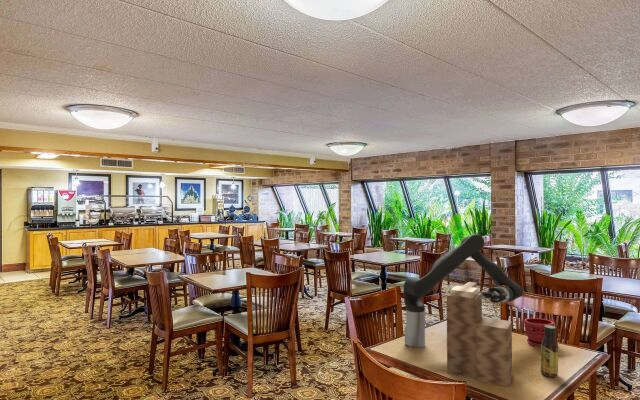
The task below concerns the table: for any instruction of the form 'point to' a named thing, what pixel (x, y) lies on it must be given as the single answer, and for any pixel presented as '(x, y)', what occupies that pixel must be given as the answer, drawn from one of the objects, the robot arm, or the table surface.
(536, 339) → the plant pot
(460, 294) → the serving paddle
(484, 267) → the robot arm
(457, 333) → the block
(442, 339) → the table surface
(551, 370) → the sauce bottle
